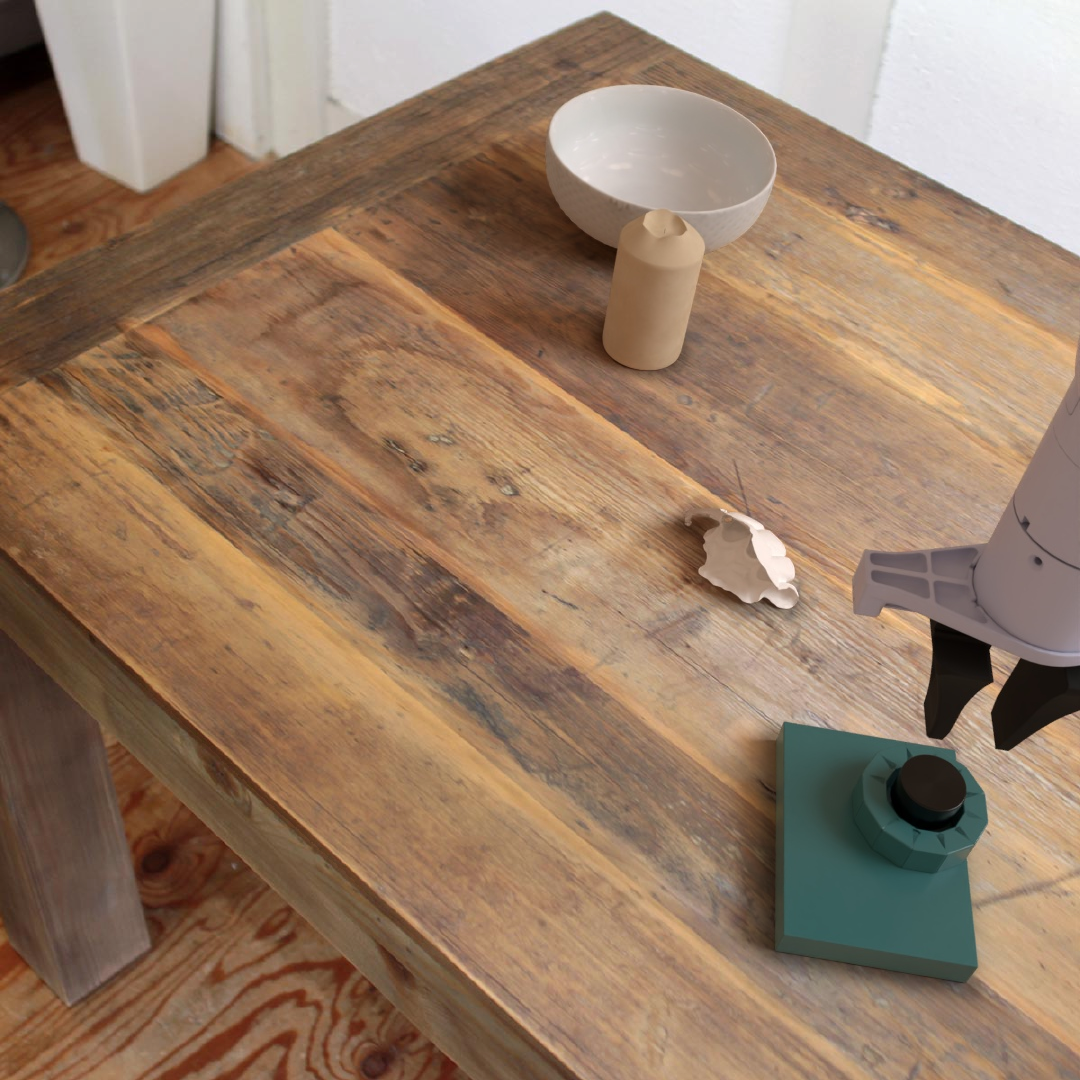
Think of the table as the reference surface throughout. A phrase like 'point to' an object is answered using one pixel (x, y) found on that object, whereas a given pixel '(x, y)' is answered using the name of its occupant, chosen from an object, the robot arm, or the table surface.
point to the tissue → (746, 559)
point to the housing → (869, 858)
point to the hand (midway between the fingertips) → (966, 726)
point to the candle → (652, 290)
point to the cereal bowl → (657, 162)
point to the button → (928, 792)
